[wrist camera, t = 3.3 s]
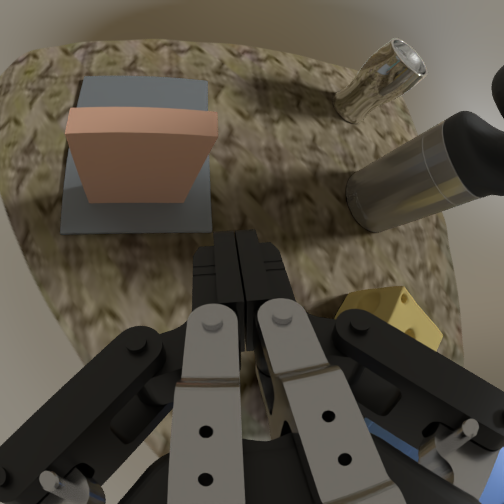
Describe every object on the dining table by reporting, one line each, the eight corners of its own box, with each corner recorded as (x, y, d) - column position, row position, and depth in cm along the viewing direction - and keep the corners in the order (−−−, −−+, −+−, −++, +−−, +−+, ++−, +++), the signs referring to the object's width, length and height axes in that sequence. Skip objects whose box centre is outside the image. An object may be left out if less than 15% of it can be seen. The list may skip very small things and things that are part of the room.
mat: (206, 83, 37) (207, 80, 36) (210, 232, 34) (212, 231, 33) (84, 79, 31) (84, 76, 30) (61, 234, 28) (60, 233, 27)
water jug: (330, 427, 35) (532, 497, 9) (412, 387, 41) (579, 404, 15) (335, 510, 33) (482, 592, 7) (410, 466, 39) (548, 505, 13)
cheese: (303, 357, 35) (358, 370, 26) (348, 286, 39) (406, 278, 30) (355, 398, 37) (410, 414, 28) (392, 332, 41) (448, 333, 31)
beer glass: (353, 91, 47) (411, 41, 33) (371, 126, 46) (435, 80, 32) (323, 90, 44) (381, 32, 30) (341, 127, 43) (408, 74, 30)
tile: (183, 183, 33) (217, 109, 20) (183, 203, 32) (218, 136, 20) (90, 183, 29) (71, 105, 16) (89, 203, 29) (65, 133, 16)
